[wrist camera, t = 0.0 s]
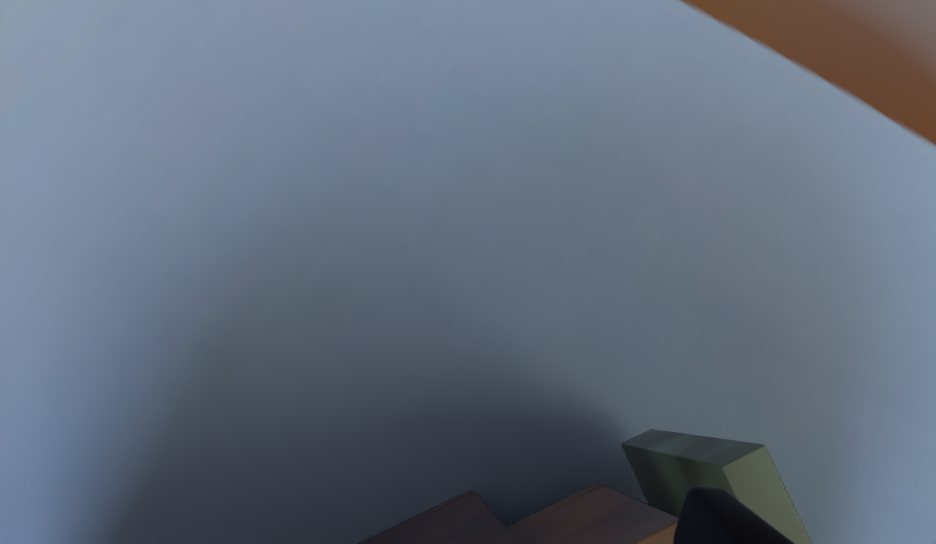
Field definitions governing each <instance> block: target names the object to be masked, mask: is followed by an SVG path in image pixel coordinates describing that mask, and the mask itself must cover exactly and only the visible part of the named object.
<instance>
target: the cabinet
mask: <svg viewBox="0 0 936 544" xmlns="http://www.w3.org/2000/svg"><path fill="white" fill-rule="evenodd" d="M359 544H518V543H517V541H516V540H515V539H514V537H513V536H512V535H511V534H510V533H509V532H508V530H507V529H506V528H505V527H504V526H503V525H502V524H501V522H500V521H499V520H498V519H497V518H496V517H495V515H494V514H493V513H492V512H491V511H490V510H489V508H488V507H487V506H486V505H485V504H484V503H483V502H482V500H481V499H480V498H479V497H478V496H477V495H476V494H475V493H474V492H473V491H472V490H470V491H467V492H465V493H463V494H461V495H459V496H457V497H455V498H453V499H451V500H449V501H447V502H444V503H442V504H440V505H438V506H436V507H434V508H432V509H430V510H428V511H426V512H424V513H421V514H419V515H417V516H415V517H413V518H411V519H409V520H407V521H405V522H403V523H401V524H398V525H396V526H394V527H392V528H390V529H388V530H386V531H384V532H382V533H380V534H378V535H375V536H373V537H371V538H369V539H367V540H365V541H363V542H361V543H359Z"/></svg>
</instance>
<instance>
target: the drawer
mask: <svg viewBox="0 0 936 544" xmlns="http://www.w3.org/2000/svg"><path fill="white" fill-rule="evenodd" d="M621 445H622V448H623V450H624V452H625V454H626V456H627V459H628V461H629V463H630V465H631V467H632V469H633V472H634V474H635V476H636V478H637V480H638V483H639V485H640V487H641V489H642V491H643V494H644V496H645V498H646V500H647V502H648V504H645V503H643V502H641V501H638V500H636V499H634V498H632V497H629V496H627V495H625V494H622V493H620V492H618V491H615V490H613V489H611V488H608V487H606V486H604V485H601V484H599V483H595V484H593V485H591V486H589V487H587V488H585V489H583V490H581V491H579V492H577V493H574V494H572V495H570V496H568V497H566V498H564V499H562V500H560V501H558V502H556V503H554V504H552V505H550V506H548V507H546V508H544V509H542V510H540V511H538V512H536V513H534V514H532V515H530V516H528V517H526V518H524V519H522V520H520V521H518V522H516V523H514V524H512V525H509V526H507V527H505V528H506V529H507V530H508V532H509V533H510V534H511V535H512V536H513V537H514V539H515V540H516V541H517V543H518V544H673V539H674V533H675V529H676V526H677V523H678V520H679V516H680V513H681V510H682V507H683V503H684V500H685V497H686V494H687V492H688V491H689V489H690V488H692V487H694V486H704V487H717V488H721V489H724V490H725V491H727V492H728V493H729V494H731V495H732V496H733V497H735V498H736V499H737V500H739V501H740V502H741V503H743V504H744V505H745V506H746V507H748V508H749V509H750V510H752V511H753V512H754V513H756V514H757V515H758V516H760V517H761V518H762V519H763V520H765V521H766V522H767V523H769V524H770V525H771V526H773V527H774V528H775V529H777V530H778V531H779V532H780V533H782V534H783V535H784V536H786V537H787V538H788V539H790V540H791V541H792V542H794V543H795V544H812V542H811V540H810V538H809V536H808V534H807V532H806V530H805V528H804V526H803V523H802V521H801V519H800V517H799V515H798V513H797V511H796V509H795V507H794V505H793V503H792V501H791V498H790V496H789V494H788V492H787V490H786V488H785V486H784V484H783V482H782V480H781V478H780V476H779V473H778V471H777V469H776V467H775V465H774V463H773V461H772V459H771V457H770V455H769V453H768V451H767V448H766V446H765V445H763V444H756V443H749V442H741V441H734V440H727V439H720V438H713V437H705V436H698V435H691V434H684V433H676V432H669V431H662V430H655V429H650V430H648V431H646V432H644V433H642V434H640V435H638V436H636V437H634V438H632V439H630V440H628V441H625V442H623V443H622V444H621Z"/></svg>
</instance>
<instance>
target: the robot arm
mask: <svg viewBox="0 0 936 544" xmlns="http://www.w3.org/2000/svg"><path fill="white" fill-rule="evenodd" d="M673 544H795V543H794V542H792V541H791V540H790V539H788V538H787V537H786V536H784V535H783V534H782V533H780V532H779V531H778V530H777V529H775V528H774V527H773V526H771V525H770V524H769V523H767V522H766V521H765V520H763V519H762V518H761V517H760V516H758V515H757V514H756V513H754V512H753V511H752V510H750V509H749V508H748V507H746V506H745V505H744V504H743V503H741V502H740V501H739V500H737V499H736V498H735V497H733V496H732V495H731V494H729V493H728V492H727V491H725V490H724V489H721V488H717V487H704V486H694V487H692V488H690V489H689V491H688V492H687V494H686V497H685V500H684V503H683V507H682V510H681V513H680V516H679V520H678V523H677V526H676V529H675V533H674V539H673Z"/></svg>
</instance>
